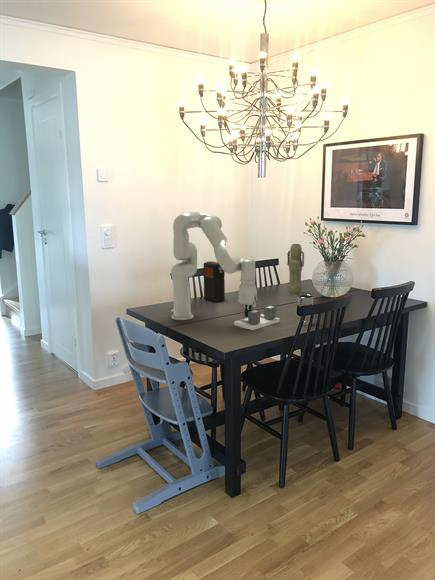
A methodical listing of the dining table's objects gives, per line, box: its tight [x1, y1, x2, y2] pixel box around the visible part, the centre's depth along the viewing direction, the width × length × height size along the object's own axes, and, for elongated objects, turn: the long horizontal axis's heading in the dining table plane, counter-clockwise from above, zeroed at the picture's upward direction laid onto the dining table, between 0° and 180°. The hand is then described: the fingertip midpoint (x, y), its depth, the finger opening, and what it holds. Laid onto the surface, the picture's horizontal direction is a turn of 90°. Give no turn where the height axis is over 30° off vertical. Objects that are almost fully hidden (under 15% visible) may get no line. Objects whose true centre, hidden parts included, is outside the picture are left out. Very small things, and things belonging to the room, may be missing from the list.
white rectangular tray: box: [233, 313, 281, 331], centre depth 251 cm, size 13×22×2 cm, turn 133°
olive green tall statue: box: [286, 243, 305, 296], centre depth 317 cm, size 9×12×35 cm
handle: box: [263, 305, 277, 320], centre depth 252 cm, size 4×5×6 cm
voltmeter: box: [203, 260, 226, 303], centre depth 305 cm, size 16×9×25 cm, turn 34°
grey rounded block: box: [247, 309, 261, 324], centre depth 243 cm, size 4×5×6 cm
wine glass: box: [297, 294, 314, 324], centre depth 250 cm, size 8×8×15 cm
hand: (247, 316), depth 246 cm, fingers closed
